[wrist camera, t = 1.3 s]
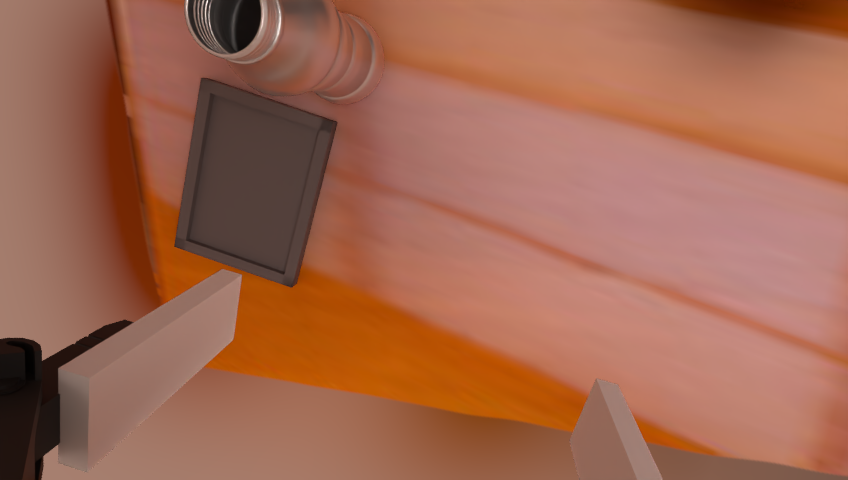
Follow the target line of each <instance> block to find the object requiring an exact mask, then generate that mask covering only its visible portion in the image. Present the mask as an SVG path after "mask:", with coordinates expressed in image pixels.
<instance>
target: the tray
mask: <svg viewBox="0 0 848 480" xmlns="http://www.w3.org/2000/svg"><path fill="white" fill-rule="evenodd" d="M336 126H337V122H336V121H333V120H330V119H327V118H324V117H321V116H318V115H315V114H312V113H309V112H306V111H303V110H301V109H298V108H295V107H292V106H289V105H286V104H283V103H280V102H277V101H274V100H271V99H268V98H265V97H262V96H259V95H256V94H253V93H250V92H247V91H244V90H241V89H238V88H235V87H232V86H230V85H227V84H224V83H221V82H218V81H215V80H212V79H208V78H201V83H200V89H199V96H198V102H197V108H196V114H195V121H194V127H193V133H192V139H191V146H190V152H189V158H188V165H187V171H186V177H185V183H184V190H183V196H182V202H181V208H180V215H179V221H178V227H177V233H176V240H175V246H174V247H177V248H180V249H183V250H186V251H188V252H191V253H194V254H197V255H200V256H203V257H206V258H208V259H211V260H214V261H217V262H220V263H223V264H226V265H229V266H231V267H234V268H237V269H240V270H243V271H246V272H249V273H251V274H254V275H257V276H260V277H263V278H266V279H269V280H271V281H274V282H277V283H280V284H283V285H286V286H289V287H293V286H294V285H295V284H296V283H297V280H298V276H299V272H300V268H301V264H302V260H303V256H304V252H305V248H306V245H307V241H308V237H309V233H310V229H311V225H312V221H313V217H314V213H315V209H316V205H317V201H318V197H319V193H320V189H321V185H322V181H323V177H324V173H325V169H326V165H327V161H328V157H329V153H330V150H331V146H332V142H333V138H334V134H335V130H336Z"/></svg>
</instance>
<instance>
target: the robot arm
mask: <svg viewBox="0 0 848 480" xmlns="http://www.w3.org/2000/svg"><path fill="white" fill-rule="evenodd" d="M241 279H242V275H241V274H238V273H234V272H231V271H227V270H224V269H222V270H220V271H218V272H217V273H215V274H213V275H212V276H210V277H208V278H207V279H205V280H203V281H202V282H200V283H198V284H197V285H195V286H194V287H192V288H190V289H189V290H187V291H185V292H184V293H182V294H180V295H179V296H177V297H175V298H174V299H172V300H170V301H169V302H167V303H165V304H164V305H162V306H160V307H159V308H157V309H156V310H154V311H152V312H151V313H149V314H147V315H146V316H144V317H142V318H141V319H139V320H137V321H136V322H130V321H127V320H123V321H119V322H116V323H112V324H109V325H105V326H103V327H102V328H100V329H98V330H96V331H94V332H93V333H91V334H89V336H88V337H84V338H82V339H80V340H79V341H77V342H76V343H75V344H72V345H70V346H68V347H66V348H65V349H63V350H61V351H59V352H57V353H56V354H54V355H52V356H50V357H49V358H47V359H45V360H43V361H42V350H41V346H40V345H39V344H38V343H37V342H35V341H33V340H29V339H25V338H5V339H0V480H41V478H42V472H43V456H44V455H45V454H46V453H48V452H49V451H50V450H51V449H53V448H54V447H55V446H57V445H58V447H59V453H58V454H59V463H60V464H63V465H66V466H69V467H73V468H75V469H79V470H82V471H85V472H88V471H89V470H91V469H92V468H93V467H94V466H95V465H96V464H97V463H98V462H99V461H100V460H102V459H103V458H104V457H105V456H106V455H107V454H108V453H109V452H110V451H111V450H113V449H114V448H115V447H116V446H117V445H118V444H119V443H120V442H121V441H122V440H123V439H124V438H126V437H127V436H128V435H129V434H130V433H131V432H132V431H133V430H135V429H136V428H137V427H138V426H139V425H140V424H141V423H142V422H143V421H144V420H146V419H147V418H148V417H149V416H150V415H151V414H152V413H153V412H154V411H155V410H156V409H158V408H159V407H160V406H161V405H162V404H163V403H164V402H165V401H166V400H167V399H169V398H170V397H171V396H172V395H173V394H174V393H175V392H176V391H177V390H179V389H180V388H181V387H182V386H183V385H184V384H185V383H186V382H187V381H188V380H190V379H191V378H192V377H193V376H194V375H195V374H196V373H197V372H198V371H199V370H201V369H202V368H203V367H204V366H205V365H206V364H207V363H208V362H209V361H210V360H212V359H213V358H214V357H215V356H216V355H217V354H218V353H219V352H220V351H221V350H223V349H224V348H225V347H226V346H227V345H228V344H229V343H230V342H231V341H232V340H233V339H234V331H235V324H236V316H237V309H238V302H239V294H240V287H241ZM570 445H571V449H572V453H573V457H574V461H575V465H576V469H577V473H578V477H579V480H663V479H662V476H661V475H660V472H659V471H658V468H657V466H656V464H655V462H654V460H653V458H652V455H651V453H650V451H649V449H648V447H647V445H646V443H645V441H644V439H643V436H642V434H641V432H640V430H639V428H638V426H637V424H636V422H635V420H634V417H633V415H632V413H631V411H630V409H629V407H628V405H627V403H626V401H625V398H624V396H623V394H622V392H621V390H620V388H619V386H618V384H614V383H611V382H608V381H604V380H601V379H597V378H596V380H595V382H594V385H593V387H592V389H591V392H590V394H589V396H588V399H587V401H586V403H585V406H584V408H583V410H582V413H581V415H580V417H579V420H578V422H577V424H576V427H575V429H574V431H573V434H572V436H571V438H570Z"/></svg>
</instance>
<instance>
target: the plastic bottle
mask: <svg viewBox="0 0 848 480" xmlns="http://www.w3.org/2000/svg"><path fill="white" fill-rule="evenodd" d="M184 11H185V18H186V23H187V26H188V28H189V31H190V33H191V35H192V36H193V38H194V40H195V41H196V42H197V43H198V44H199V45H200V47H202V48H203V49H204V50H206V51H207V52H209V53H210V54H212V55H214V56H216V57H220V58H223V59H226V61H227V62H228V64H229V66H230V67H231V68H232V69H233V71H234V72H235V73H236V74H237V75H238V76H239V77H240V78H241V79H242V80H243V81H245V82H246V83H247V84H248V85H250V86H251V87H252V88H254V89H256V90H258V91H260V92H262V93H265V94H269V95H272V96H293V95H299V94H303V93H306V92H310V91H311V92H315V93H316V94H317V95H319V96H320V97H322V98H324V99H326V100H328V101H330V102H333V103H336V104H351V103H355V102H357V101H360V100H362V99H363V98H365V97H366V96H368V95H369V94H370V93H371V92H372V91H373V90H374V89H375V88H376V87H377V85H378V84H379V82H380V80H381V77H382V75H383V70H384V52H383V48H382V44H381V41H380V39H379V37H378V35H377V33H376V32H375V30H374V29H373V28H372V27H371V26H370V25H369V24H368V23H367V22H366V21H364V20H363V19H361V18H359V17H357V16H354V15H350V14H346V13H340V12H339V11H338V10H337V9H336V7H335V5H334V3H333V2H332V0H185V3H184Z"/></svg>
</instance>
